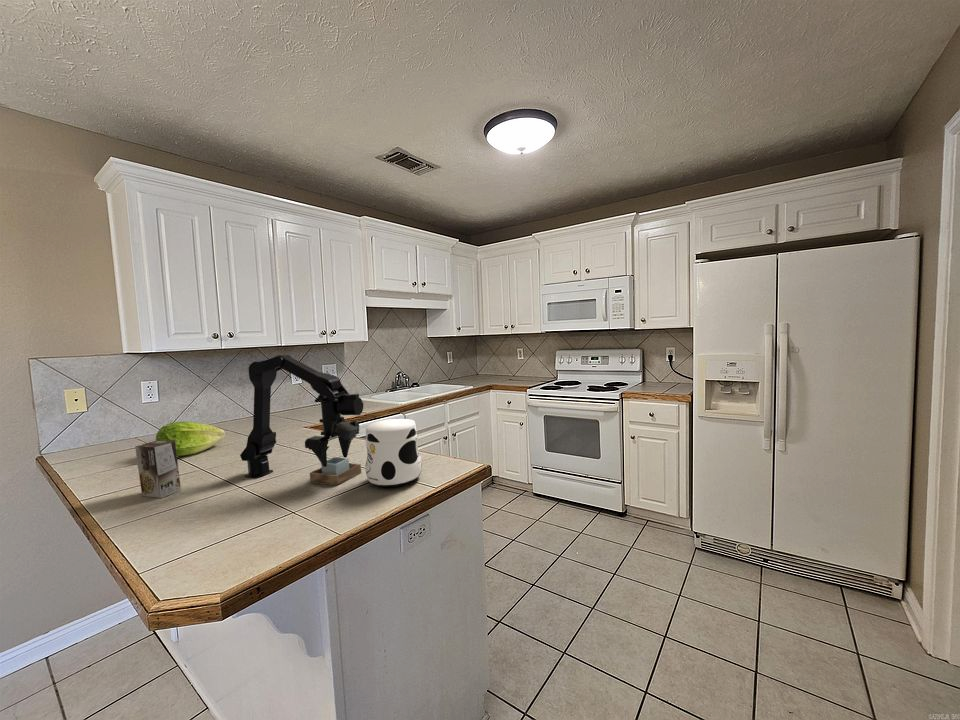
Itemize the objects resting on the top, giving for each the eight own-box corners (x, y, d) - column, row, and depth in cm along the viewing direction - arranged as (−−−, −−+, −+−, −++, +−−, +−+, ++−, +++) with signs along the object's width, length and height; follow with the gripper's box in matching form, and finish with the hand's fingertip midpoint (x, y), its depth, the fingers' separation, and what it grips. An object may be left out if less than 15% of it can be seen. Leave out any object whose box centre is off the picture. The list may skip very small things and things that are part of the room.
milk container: (356, 483, 125) (351, 426, 124) (401, 466, 138) (397, 415, 136) (387, 496, 114) (382, 434, 112) (434, 477, 126) (430, 421, 125)
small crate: (322, 478, 130) (321, 463, 129) (335, 471, 135) (334, 457, 135) (337, 479, 127) (335, 464, 127) (349, 473, 133) (348, 458, 132)
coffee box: (182, 490, 127) (176, 440, 126) (160, 498, 121) (154, 447, 120) (162, 488, 130) (156, 439, 129) (140, 496, 124) (134, 445, 123)
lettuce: (231, 450, 173) (230, 417, 175) (160, 459, 155) (160, 422, 157) (219, 450, 185) (219, 419, 186) (152, 458, 167) (152, 424, 168)
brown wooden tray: (310, 482, 128) (309, 472, 128) (335, 469, 139) (334, 461, 138) (337, 485, 124) (336, 476, 124) (361, 472, 134) (360, 464, 134)
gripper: (329, 423, 118) (333, 474, 119) (369, 409, 135) (373, 454, 136) (301, 421, 122) (306, 471, 123) (344, 408, 139) (347, 452, 141)
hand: (335, 461), depth 131 cm, fingers open, 9 cm apart
